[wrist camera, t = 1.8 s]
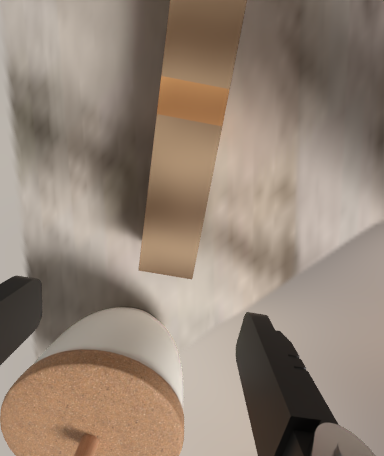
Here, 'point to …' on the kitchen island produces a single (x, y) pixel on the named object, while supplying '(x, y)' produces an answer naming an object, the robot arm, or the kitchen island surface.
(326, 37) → the kitchen island surface
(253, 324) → the robot arm
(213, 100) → the bar
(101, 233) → the kitchen island surface
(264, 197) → the kitchen island surface
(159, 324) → the lidded bowl
